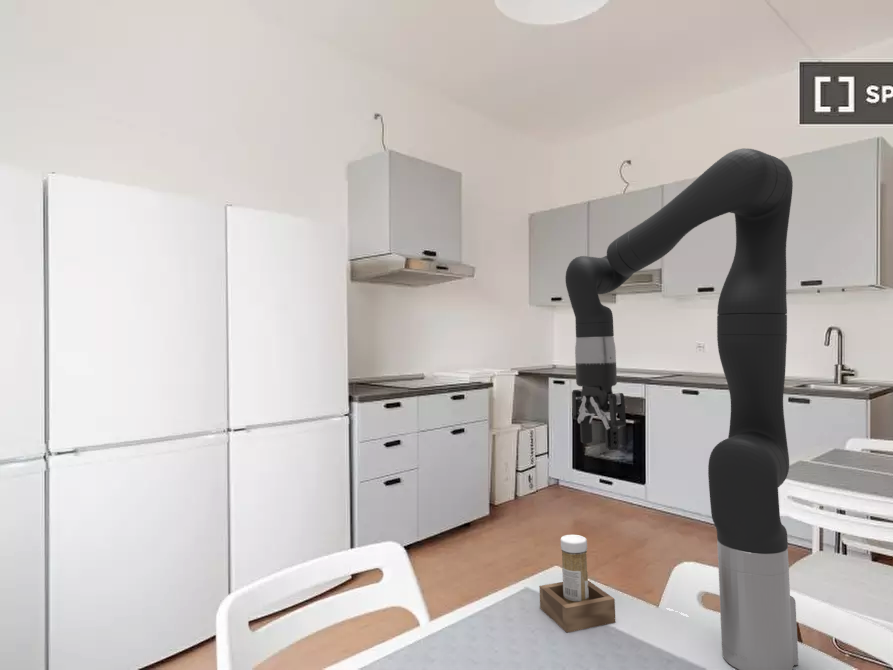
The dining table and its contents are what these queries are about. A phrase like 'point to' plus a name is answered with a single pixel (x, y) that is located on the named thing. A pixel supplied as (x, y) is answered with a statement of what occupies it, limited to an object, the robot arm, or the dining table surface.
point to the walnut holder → (577, 608)
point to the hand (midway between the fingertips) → (598, 446)
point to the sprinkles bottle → (574, 568)
